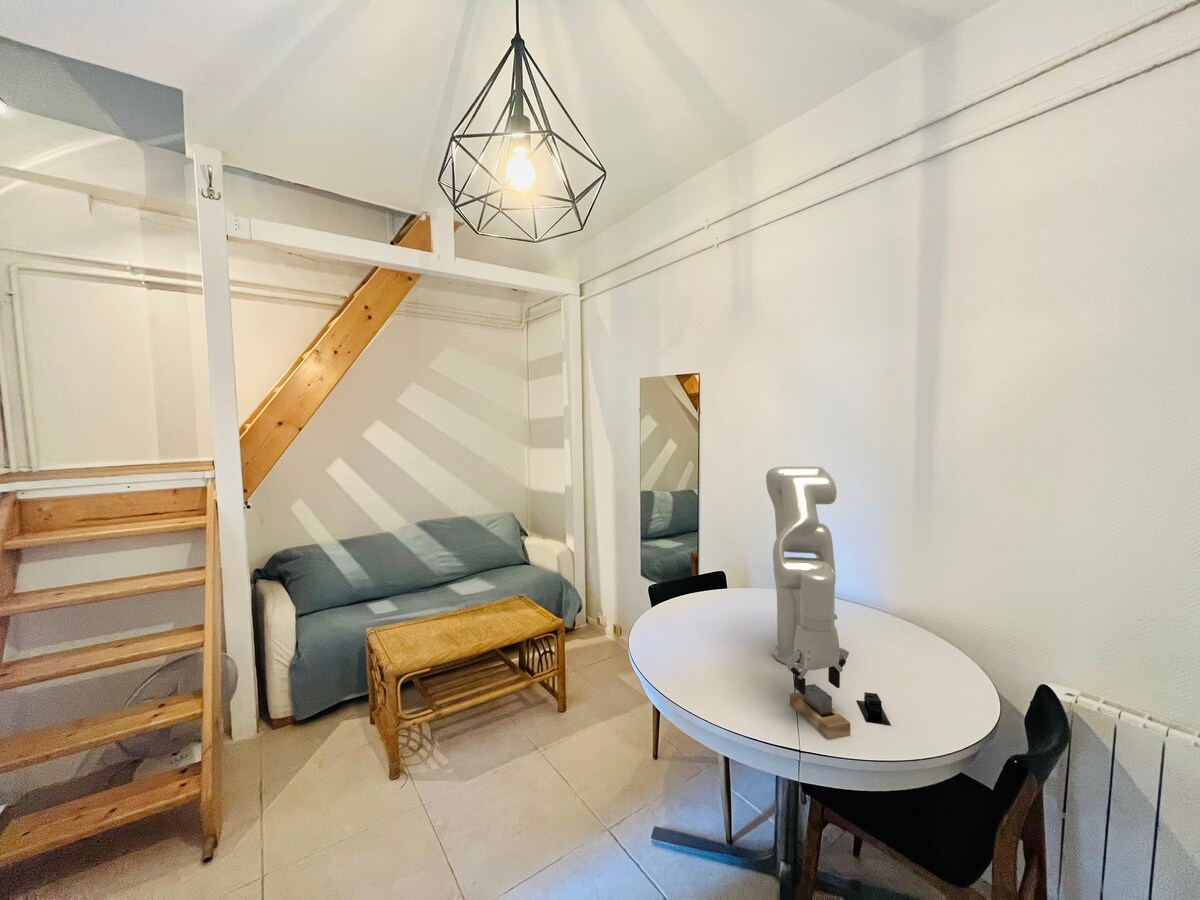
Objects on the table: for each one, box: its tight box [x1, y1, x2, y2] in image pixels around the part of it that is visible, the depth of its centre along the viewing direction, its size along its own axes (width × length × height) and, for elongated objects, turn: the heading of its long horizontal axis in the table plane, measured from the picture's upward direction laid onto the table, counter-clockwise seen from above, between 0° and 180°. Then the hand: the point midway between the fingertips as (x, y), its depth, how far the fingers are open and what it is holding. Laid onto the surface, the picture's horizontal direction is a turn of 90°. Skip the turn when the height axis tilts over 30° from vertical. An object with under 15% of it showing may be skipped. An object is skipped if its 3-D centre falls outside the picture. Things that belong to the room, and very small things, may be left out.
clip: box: [804, 683, 833, 717], centre depth 111 cm, size 6×3×7 cm, turn 14°
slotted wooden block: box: [789, 691, 851, 741], centre depth 111 cm, size 14×6×3 cm, turn 13°
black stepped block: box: [855, 691, 892, 727], centre depth 113 cm, size 12×7×5 cm, turn 163°
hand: (817, 688), depth 111 cm, fingers open, 9 cm apart
